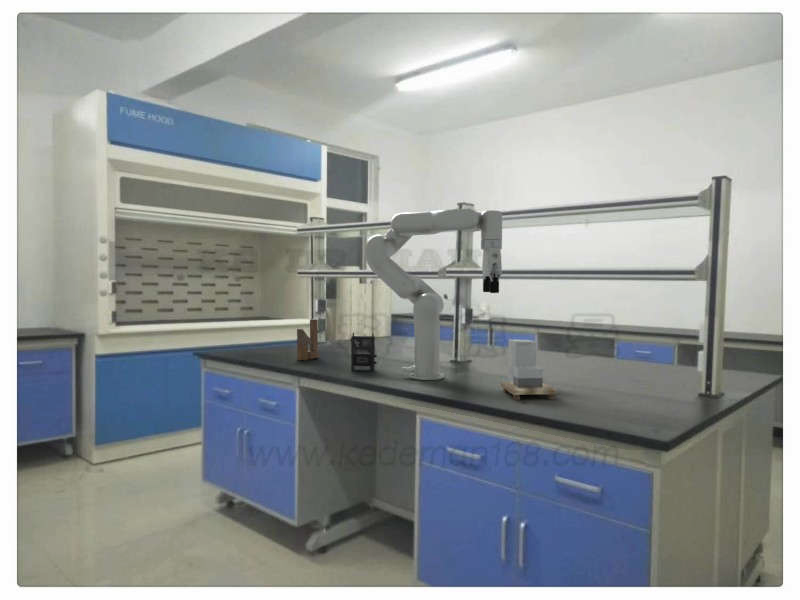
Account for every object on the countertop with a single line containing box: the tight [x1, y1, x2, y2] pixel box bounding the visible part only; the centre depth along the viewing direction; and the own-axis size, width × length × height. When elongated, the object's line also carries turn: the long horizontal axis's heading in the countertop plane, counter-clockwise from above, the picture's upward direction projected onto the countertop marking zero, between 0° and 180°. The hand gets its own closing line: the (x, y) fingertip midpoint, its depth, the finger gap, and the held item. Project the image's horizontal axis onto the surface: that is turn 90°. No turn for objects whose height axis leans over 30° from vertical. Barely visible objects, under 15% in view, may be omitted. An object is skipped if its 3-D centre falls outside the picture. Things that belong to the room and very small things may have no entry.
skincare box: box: [507, 339, 537, 382], centre depth 200 cm, size 8×7×16 cm
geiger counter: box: [350, 332, 377, 372], centre depth 226 cm, size 10×4×15 cm, turn 84°
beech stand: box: [500, 381, 558, 401], centre depth 181 cm, size 14×14×3 cm
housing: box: [513, 365, 544, 388], centre depth 181 cm, size 5×8×6 cm, turn 96°
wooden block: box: [296, 318, 320, 361], centre depth 254 cm, size 4×11×18 cm, turn 144°
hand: (490, 292), depth 203 cm, fingers open, 9 cm apart
